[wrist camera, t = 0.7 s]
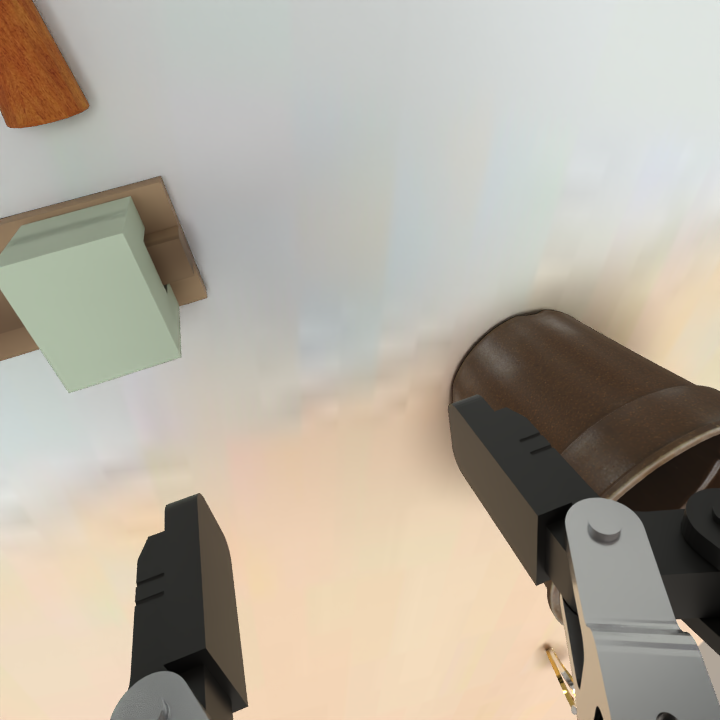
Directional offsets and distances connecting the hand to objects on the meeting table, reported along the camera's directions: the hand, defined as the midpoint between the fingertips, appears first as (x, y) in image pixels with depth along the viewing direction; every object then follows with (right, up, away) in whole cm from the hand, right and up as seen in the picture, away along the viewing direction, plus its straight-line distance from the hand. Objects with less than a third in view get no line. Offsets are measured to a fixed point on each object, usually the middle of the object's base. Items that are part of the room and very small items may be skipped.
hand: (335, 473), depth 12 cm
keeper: (-12, +7, +14) cm, 20 cm away
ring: (+26, -36, +57) cm, 72 cm away
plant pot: (+13, +1, +29) cm, 32 cm away
